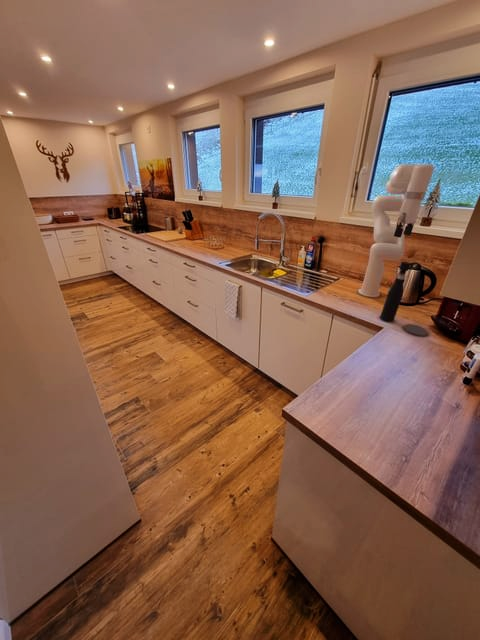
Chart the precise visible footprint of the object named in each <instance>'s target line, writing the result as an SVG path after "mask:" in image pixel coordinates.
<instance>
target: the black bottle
mask: <svg viewBox="0 0 480 640" xmlns="http://www.w3.org/2000/svg"><path fill="white" fill-rule="evenodd" d="M410 267H411V262H408V261H401V262H400V265H399V268H398V269H399V270H400V271H399V273H398V274H397V277H396V278H395V281H394V283H393V284H392V286H391V287H390V289H389V290H388V292H387V295H386V298H385V301H384V304H383V307H382V310H381V313H380V320H381V321H384V322H386V323H393V322H394V321H395V318H396V315H397V312H398V310H399V307H400V304H401V301H402V299H403V296H404V284H405V281H406V277H407V275H406V274H407V272H408V271H409V270H410Z"/></svg>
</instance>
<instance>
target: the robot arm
mask: <svg viewBox="0 0 480 640" xmlns="http://www.w3.org/2000/svg"><path fill="white" fill-rule="evenodd" d="M434 170H435V166H434V165H433V164H407V163H406V164H399V165H397V166H396V167H395V168H394V169H392V172H391V174H390V176H389V180H388V181H387V182H386V184H385V191H386V192H387V193H388V194H382V195H381V194H380V195H378V196H376V197H374V199H373V201H372V204H371V214H372V218H373V241H374V242H375V243H373V244H372V245H371V246H370V249H369V258H368V263H367V265H366V266H367V267H366V271H365V275H364V278H363V280H362V285H361V288H358V290H357V293H358V294H359V295H361V296H363V297H366V298H378V297H380V291H379V290H380V289H381V283H382V280H383V276H384V273H385V269H386V267H385V264H384V262H383V261H392V262H393V261H394V262H397V261H400V260H402V259H403V258H404V254H405V236H411V235H412V233H413V228H414V227H415V224H416V222H417V219H418V216H419V213H420V209H421V206H422V202H423V201H424V200H425V198H426V195H427V191H428V188H429V185H430V182H431V179H432V176H433V174H434ZM386 212H397V213H398V214H397V217H396V225H395V226H391V218H390V216H389V214H387V213H386Z"/></svg>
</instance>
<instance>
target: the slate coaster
mask: <svg viewBox="0 0 480 640" xmlns="http://www.w3.org/2000/svg"><path fill="white" fill-rule="evenodd" d="M403 330H404V332H406V333H408V334H410V335H413V336H416V337H426V336H427V335H428V333H429V332H428V330H427V329H426V328H425V327H422V326H420V325H417V324H412V323H411V324H410V323H409V324H408V323H407V324H404V326H403Z"/></svg>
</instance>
